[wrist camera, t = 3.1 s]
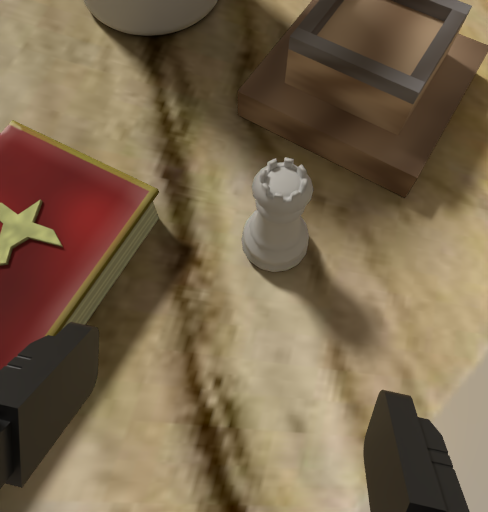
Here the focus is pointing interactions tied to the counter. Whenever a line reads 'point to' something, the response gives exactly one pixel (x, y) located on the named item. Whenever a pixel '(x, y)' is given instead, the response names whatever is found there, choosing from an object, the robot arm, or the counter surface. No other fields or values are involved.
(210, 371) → the counter surface
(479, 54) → the walnut plinth
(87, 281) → the hardcover book
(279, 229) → the rook chess piece
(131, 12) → the cylinder vase
